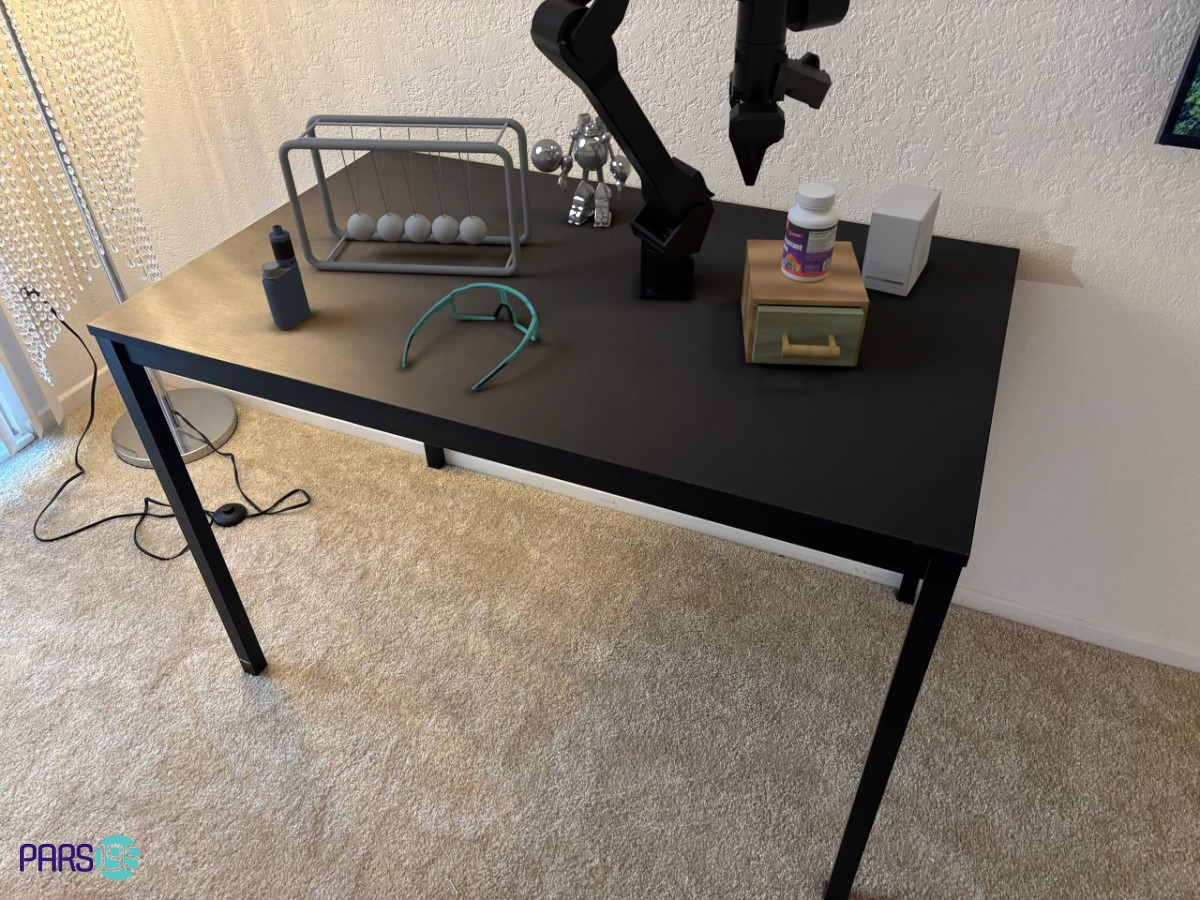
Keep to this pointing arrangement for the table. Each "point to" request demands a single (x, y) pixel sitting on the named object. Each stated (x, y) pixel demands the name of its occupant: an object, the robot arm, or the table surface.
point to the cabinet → (797, 286)
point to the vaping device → (284, 283)
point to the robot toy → (585, 168)
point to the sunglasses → (511, 315)
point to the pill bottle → (810, 233)
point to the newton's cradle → (415, 225)
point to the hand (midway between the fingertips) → (749, 171)
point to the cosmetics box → (900, 238)
